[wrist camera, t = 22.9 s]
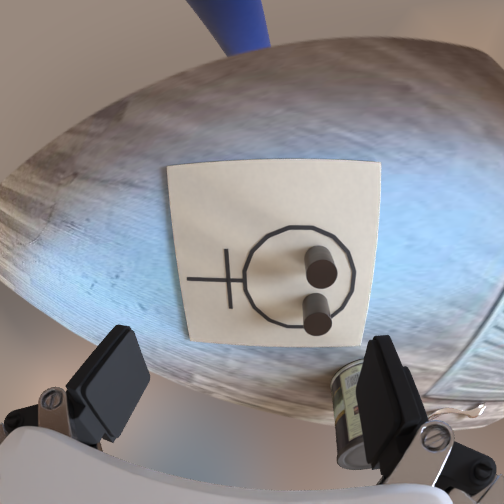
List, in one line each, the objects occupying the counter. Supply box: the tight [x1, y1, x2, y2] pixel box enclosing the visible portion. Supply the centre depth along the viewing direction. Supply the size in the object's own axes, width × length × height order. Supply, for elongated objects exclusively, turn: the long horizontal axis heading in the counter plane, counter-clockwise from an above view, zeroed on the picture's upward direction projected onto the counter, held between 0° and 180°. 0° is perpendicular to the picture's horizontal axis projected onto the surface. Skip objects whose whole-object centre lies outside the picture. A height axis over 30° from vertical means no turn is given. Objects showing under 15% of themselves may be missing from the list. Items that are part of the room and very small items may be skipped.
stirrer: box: [428, 402, 486, 421], centre depth 37 cm, size 20×4×5 cm
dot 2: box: [302, 293, 332, 336], centre depth 31 cm, size 3×3×4 cm
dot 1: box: [304, 245, 338, 289], centre depth 29 cm, size 3×3×4 cm
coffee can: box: [330, 359, 372, 470], centre depth 30 cm, size 10×10×14 cm
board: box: [167, 159, 381, 347], centre depth 32 cm, size 24×24×1 cm
